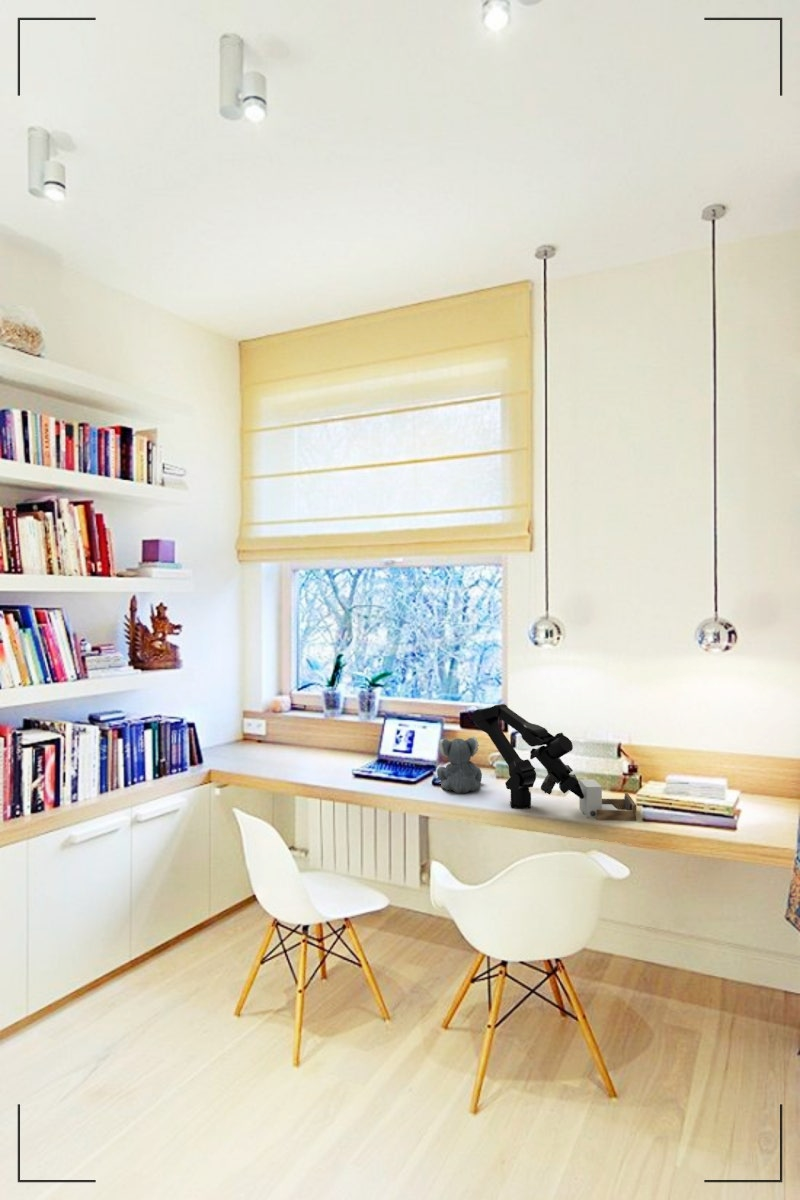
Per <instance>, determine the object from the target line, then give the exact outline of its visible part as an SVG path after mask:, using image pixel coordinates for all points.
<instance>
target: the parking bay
mask: <svg viewBox="0 0 800 1200" xmlns="http://www.w3.org/2000/svg"><path fill="white" fill-rule="evenodd" d="M604 802H607V803H608V804H612V805H613V806H614V807H615V808H616V809H617V810H597V817H596V820H598V821H600V820H601V821H602V820H603V821H605V820H606V821H637V804H636V802H635V801H634V800H633V798H632V797H631V796H630V794H629V793H628V792H624V798H602V804H603V803H604Z"/></svg>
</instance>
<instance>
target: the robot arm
mask: <svg viewBox="0 0 800 1200" xmlns="http://www.w3.org/2000/svg"><path fill="white" fill-rule="evenodd" d="M471 719H472V721H473V723H474V724H475V726H476V727H477V728H478V729H479V730H480V731H483V732H484V733H486V734H487V736H488V737H489V738H490V740H491V742H492V743H493V745H494V747H495V748H496V750H497V751H498V753H499V754H500V755H501V757H502V758H503V760H504V761H505V763H506V765H507V766H508V775H509V778H508V779H507V780H506V781H505V787H506V788H505V789H507V790H510V801H509V805H510V808H511V807H512V809H530V808H531V805H532V793H531V791H530V788H533V787H534V784H535V782H536V780H537V772H536V770H535V769H536V767H534V765H532V763H531V761H530V760H533V759H535V758H536V759H537V761H538V762H539V763H540V764H541V766H542V767H544V768H545V770H546V772H547V775H546V776H545V778H544V779H543V781H542V783H541V785H540V789H541V791H542V792H544V793H545V794H548V795H551V794H552V790H553V789H554V787H555V786H556V785H558V787H559V790H560V792H561V793H563V794H566V793H568V791H570V792H571V793H573V795H575V796H577V797H578V798H579V797H580V798H581V799H583V798H584V795H583V793H582V790H581V787H580V785H579V780H578V778H577V775H576V774H575V773H573V774H572V772H574V771H573V769H572V768H571V766H570V765H569V764H565V763H564V762H563V760H562V759H561V757H563V756H565V755H567V754H568V753H571V752H572V751H573V748H574V746H573V742H572V740H570V738H569V737H567V736H566V735H564V733H563V732H559V733H557V734H555V735H553V734H551V733H550V732H549V731H548V730H547V728H545V727H543V726H541V725H539V724H535V723H531V722H529V721H528V720H526V719H525V718H523V717H522V716H521V715H519V714H517V713H516V712H515V711H514V710H513V709H510V708H509V707H508V706H507V704H505V703H500V704H495V705H493V706H490V707H485V708H478V709H475V710H474V711H473V713H472V717H471ZM499 719H500V720H501V721H503V722H504V723H505V724H507V725H508V726H509V727H511V728H512V729H514V730H515V731H516V732H517V733H519V734H520V736H521V738H522V740H523V741H524V742H525V743H526V744H527V745H528V746H530V747H533V748H532V749H531V750H530V752H529V753H530V755H529V756H530V759H528V758H527V759H522V758H521V757H520V756H519V754H518V752H517V751H516V749H515V748H514V746H513V745H512V744H511V742H510V741H509V739H508V738H507V736H506V735H505V733H504V732H503V730H502V729H501V727H500V726H499ZM534 747H537V748H534ZM515 807H516V808H515Z"/></svg>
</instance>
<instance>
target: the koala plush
mask: <svg viewBox="0 0 800 1200" xmlns="http://www.w3.org/2000/svg"><path fill="white" fill-rule="evenodd" d="M438 746H439V747H438V749H439V752H440V754H441V755H442V756H443V757H447V760H448V762H449V763H447V764H446V766H439V767H438V768H437V769H436V772H437V773H436V775H437V780H438V779H439V780H441V783H439V785H440V784H441V785H440V786H441V789H443V790H447V791H448V790H449V791H451V790H453V792H454V793H456V794H457V793H458V794H466V793H468V792H476V791H478V790H479V789H480V784H481V783H482V776H483V774H482V770H481V768H480V766H476V765H475V763H474V762H472V761H471V757H472V758H473V757H475V755H476V754H477V753H478V751H479V746H480V745H479V740H478V739H477V737H475V736H471V737H469V738H468V739H463V738H458V737H457V738H454V739H453V740H451V741H450V740H448V739H447V738H445V739H444V738H443V739H439V741H438ZM451 792H452V791H451Z"/></svg>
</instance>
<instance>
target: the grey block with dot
mask: <svg viewBox="0 0 800 1200" xmlns="http://www.w3.org/2000/svg"><path fill="white" fill-rule="evenodd" d="M578 782H579V785H580V787H581V790H582V793H583V795H584V798H583V799H581V798H580V797H578V798H579V800H578V801H579V805H578V806H579V808H578V809H579V811H581V813H582V814H583V813H584V814H585V815H584V814H583V815H584V816H585V817H586V818H597V810H618V808H615V807H614V806H613V805H612V804H608V803H607V802H604V803H603V804H602V799H603V798H602V797H603V793H602V792H603V790H602V789H603V787H602V785H600V784H599V783H598V782H597V781H596V779H579V780H578Z"/></svg>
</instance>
